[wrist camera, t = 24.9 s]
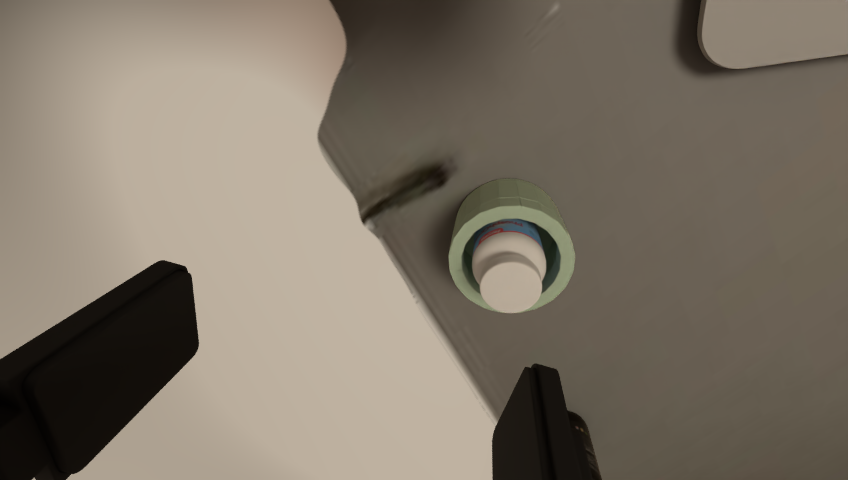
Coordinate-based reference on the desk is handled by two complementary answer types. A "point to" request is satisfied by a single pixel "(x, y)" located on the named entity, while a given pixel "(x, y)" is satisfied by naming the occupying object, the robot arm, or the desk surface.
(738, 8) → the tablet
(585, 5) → the desk surface
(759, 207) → the desk surface
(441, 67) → the desk surface
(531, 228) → the pill bottle
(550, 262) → the green cylindrical sleeve
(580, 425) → the supplement bottle
